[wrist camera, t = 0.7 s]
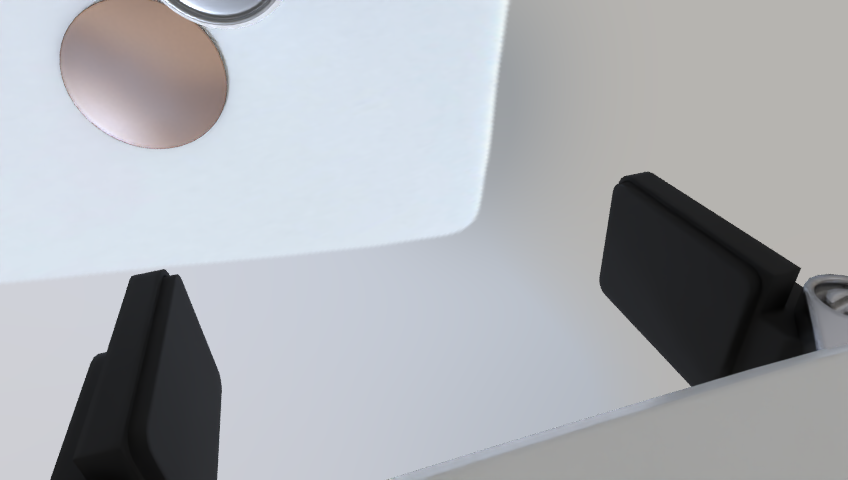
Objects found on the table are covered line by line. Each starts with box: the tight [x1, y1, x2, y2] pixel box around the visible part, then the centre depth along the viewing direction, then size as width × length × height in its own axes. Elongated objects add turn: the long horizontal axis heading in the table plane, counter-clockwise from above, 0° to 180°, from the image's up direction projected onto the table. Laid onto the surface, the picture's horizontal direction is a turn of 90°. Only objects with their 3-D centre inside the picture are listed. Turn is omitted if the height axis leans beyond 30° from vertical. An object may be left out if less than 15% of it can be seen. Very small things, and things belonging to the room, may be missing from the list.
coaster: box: [60, 0, 227, 149], centre depth 32 cm, size 9×9×1 cm
